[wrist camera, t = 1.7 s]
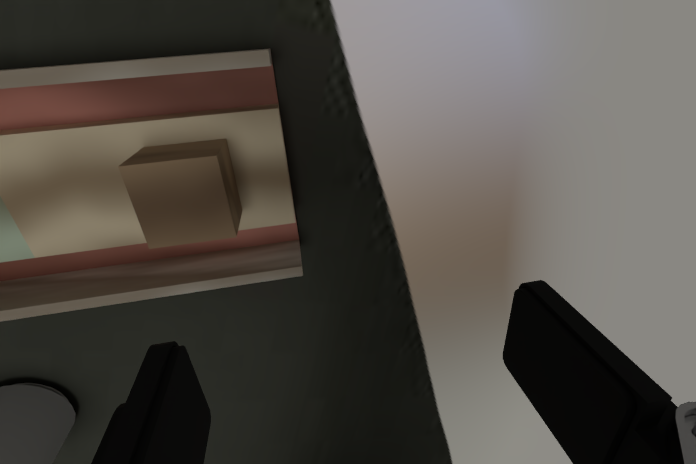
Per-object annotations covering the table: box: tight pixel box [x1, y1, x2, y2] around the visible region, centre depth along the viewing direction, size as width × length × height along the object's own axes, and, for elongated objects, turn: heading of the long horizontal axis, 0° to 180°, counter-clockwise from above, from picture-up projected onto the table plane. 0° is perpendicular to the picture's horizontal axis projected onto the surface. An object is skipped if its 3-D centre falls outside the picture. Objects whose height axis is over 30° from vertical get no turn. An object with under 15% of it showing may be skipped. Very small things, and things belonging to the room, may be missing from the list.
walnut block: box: [118, 139, 242, 249], centre depth 22 cm, size 5×5×4 cm
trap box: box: [0, 49, 303, 321], centre depth 23 cm, size 15×25×6 cm, turn 94°
